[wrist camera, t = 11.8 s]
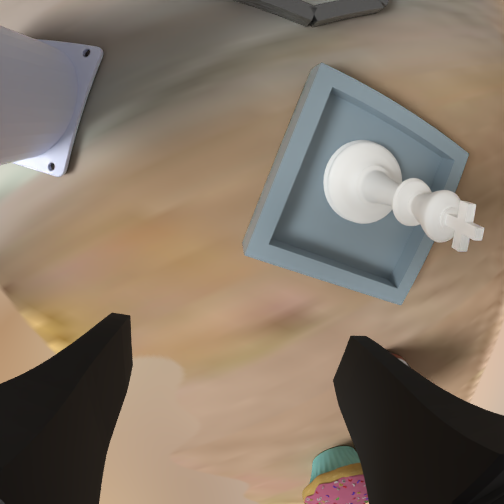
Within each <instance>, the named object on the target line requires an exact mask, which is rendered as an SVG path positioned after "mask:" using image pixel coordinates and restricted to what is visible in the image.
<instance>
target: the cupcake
mask: <svg viewBox="0 0 504 504" xmlns="http://www.w3.org/2000/svg"><path fill="white" fill-rule="evenodd" d="M302 496H303V500H304V503H305V504H365V503H367V502H368V501H369V500H368V494H367V489H366V484H365V480H364V475H363V471H362V467H361V463H360V460H359V457H358V454H357V452H356V451H355V450H354V449H353V448H352V447H349V446H339V447H334V448H331V449H328V450H326V451H324V452H322V453H320V454H319V455H318V456H317V457H316V458H315V459H314V460H313V465H312V474H311V480H310V484H309V485H308V486H307V487H306V488H305V489H304V490H303V493H302Z"/></svg>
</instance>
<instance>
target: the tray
mask: <svg viewBox="0 0 504 504" xmlns="http://www.w3.org/2000/svg"><path fill="white" fill-rule="evenodd" d="M356 140H368V141H372V142H375V143H377V144H379V145H381V146H383V147H385V148H386V149H387V150H389V151H390V152H391V153H392V154H393V156H394V157H395V159H396V160H397V162H398V164H399V167H400V170H401V174H402V182H403V181H405V180H407V179H410V178H417V179H420V180H422V181H423V182H425V183H426V184H427V185H428V187H429V188H430V190H431V192H435V191H440V190H449V191H452V192H454V193H455V191H456V189H457V186H458V184H459V181H460V178H461V176H462V173H463V170H464V167H465V164H466V162H467V159H468V156H469V153H467V152H466V151H465V150H464V149H462V148H461V147H460V146H458V145H457V144H456V143H455V142H453V141H452V140H451V139H449V138H448V137H447V136H445V135H444V134H442V133H441V132H440V131H438V130H437V129H435V128H434V127H433V126H431V125H430V124H428V123H427V122H425V121H424V120H422V119H421V118H419V117H418V116H416V115H415V114H413V113H412V112H410V111H409V110H407V109H406V108H404V107H402V106H401V105H399V104H398V103H396V102H394V101H393V100H391V99H389V98H388V97H386V96H384V95H383V94H381V93H379V92H377V91H376V90H374V89H372V88H370V87H369V86H367V85H365V84H363V83H361V82H359V81H358V80H356V79H354V78H352V77H350V76H348V75H346V74H344V73H342V72H340V71H338V70H336V69H334V68H332V67H330V66H328V65H326V64H324V63H320V64H318V65H317V66H315V67H314V68H312V69H311V71H310V73H309V76H308V78H307V81H306V83H305V86H304V88H303V91H302V93H301V96H300V98H299V101H298V103H297V106H296V108H295V110H294V113H293V115H292V118H291V120H290V123H289V125H288V128H287V130H286V133H285V135H284V138H283V140H282V143H281V145H280V148H279V150H278V153H277V155H276V158H275V160H274V163H273V166H272V168H271V171H270V173H269V176H268V178H267V181H266V183H265V186H264V188H263V191H262V193H261V196H260V198H259V201H258V204H257V206H256V209H255V211H254V214H253V216H252V219H251V221H250V224H249V227H248V229H247V232H246V234H245V237H244V239H243V242H242V245H243V251H244V255H245V256H248V257H251V258H254V259H257V260H261V261H264V262H267V263H270V264H273V265H276V266H279V267H282V268H285V269H288V270H292V271H295V272H298V273H301V274H304V275H307V276H310V277H313V278H317V279H320V280H323V281H326V282H329V283H332V284H335V285H338V286H342V287H345V288H348V289H351V290H354V291H357V292H360V293H363V294H367V295H370V296H373V297H376V298H379V299H382V300H386V301H389V302H392V303H395V304H398V305H402V303H403V301H404V299H405V298H406V296H407V294H408V292H409V290H410V288H411V287H412V285H413V283H414V281H415V279H416V277H417V275H418V273H419V271H420V269H421V267H422V265H423V263H424V261H425V259H426V257H427V255H428V253H429V251H430V249H431V247H432V245H433V243H434V241H433V240H431V239H430V238H429V237H428V236H427V235H426V233H425V232H424V230H423V229H422V227H421V225H420V224H419V225H416V226H406V225H403V224H401V223H400V222H399V221H398V220H397V219H396V217H395V215H394V213H393V209H392V210H391V212H390V213H389V214H387V215H386V216H385V217H384V218H382V219H380V220H378V221H376V222H373V223H367V224H360V223H355V222H352V221H349V220H346V219H344V218H342V217H341V216H339V215H338V214H337V213H336V212H335V211H334V210H333V209H332V208H331V206H330V205H329V203H328V201H327V199H326V196H325V192H324V185H323V180H324V172H325V169H326V166H327V163H328V161H329V160H330V158H331V156H332V155H333V154H334V153H335V152H336V151H337V150H338V149H339V148H340V147H341V146H343V145H345V144H347V143H349V142H352V141H356Z"/></svg>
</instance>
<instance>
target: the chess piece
mask: <svg viewBox="0 0 504 504" xmlns="http://www.w3.org/2000/svg"><path fill="white" fill-rule="evenodd" d="M323 185H324V192H325V196H326V199H327V201H328V203H329V205H330V206H331V208H332V209H333V210H334V211H335V212H336V213H337V214H338V215H339V216H341V217H342V218H344V219H346V220H349V221H352V222H355V223H360V224H367V223H373V222H376V221H378V220H380V219H382V218H384V217H385V216H386V215H387V214H389V213H390V212H391V210H392V209H393V213H394V215H395V217H396V219H397V220H398V221H399V222H400V223H401V224H403V225H406V226H416V225H419V224H420V225H421V227H422V229H423V230H424V232H425V233H426V235H427V236H428V237H429V238H430V239H431V240H433V241H435V242H446V241H449V240H450V239H452V238H453V237H454V238H453V243H452V248H453V249H455V250H457V251H458V252H467V249H468V244H469V240H470V239H472V240H479V241H482V238H483V233H484V227H482V226H480V225H477V224H475V223H473V220H474V215H475V209H476V204H474V203H471V202H468V201H461V200H460V198H459V197H458V195H457V194H455V193H454V192H452V191H449V190H440V191H435V192H431V190H430V188H429V187H428V185H427V184H426V183H425V182H423V181H422V180H420V179H417V178H410V179H407V180H405V181H403V182H402V174H401V170H400V167H399V164H398V162H397V160H396V159H395V157H394V156H393V154H392V153H391V152H390V151H389V150H387V149H386V148H385V147H383V146H381V145H379V144H377V143H375V142H372V141H368V140H356V141H352V142H349V143H347V144H345V145H343V146H341V147H340V148H339V149H338V150H337V151H336V152H335V153H334V154H333V155H332V156H331V158H330V160H329V161H328V163H327V166H326V169H325V172H324V180H323Z"/></svg>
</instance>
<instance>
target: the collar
mask: <svg viewBox="0 0 504 504" xmlns="http://www.w3.org/2000/svg"><path fill="white" fill-rule="evenodd" d="M234 1H237V2H241V3H244V4H247V5H250V6H253V7H256V8H259V9H262V10H265V11H268V12H270V13H273V14H276V15H278V16H281V17H284V18H286V19H289V20H291V21H294V22H296V23H299V24H301V25H303V26H306V27H307V25H308V24H309V23H310V24H311V26H312V27H315V26H319V25H323V24H327V23H331V22H335V21H339V20H344V19H348V18H353V17H358V16H363V15H368V14H374V13H376V12H378V11H379V10H381V9H382V8H384V7H385V6H386V5H387V3H388V0H338V1H333V2H328V3H324V4H319V5H315V6H313V5H311V4H308V3H306V2H303V1H301V0H234Z"/></svg>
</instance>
